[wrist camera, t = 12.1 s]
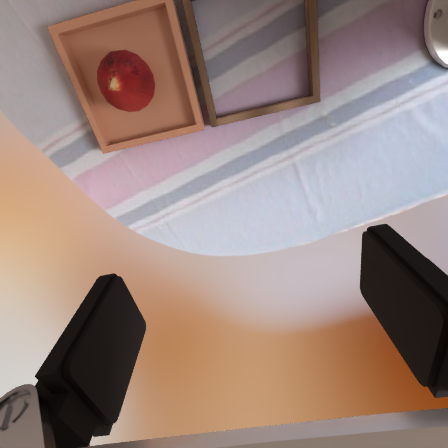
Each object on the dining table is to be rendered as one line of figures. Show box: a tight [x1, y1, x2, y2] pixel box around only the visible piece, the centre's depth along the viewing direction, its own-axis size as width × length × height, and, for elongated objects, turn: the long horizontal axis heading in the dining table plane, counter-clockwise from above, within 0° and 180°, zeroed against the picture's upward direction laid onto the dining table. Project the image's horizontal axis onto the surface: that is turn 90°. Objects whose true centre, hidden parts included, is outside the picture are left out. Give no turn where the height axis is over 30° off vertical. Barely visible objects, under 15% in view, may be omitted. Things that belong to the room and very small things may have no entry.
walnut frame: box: [182, 0, 320, 127], centre depth 29 cm, size 14×14×2 cm
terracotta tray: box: [47, 0, 205, 154], centre depth 31 cm, size 14×14×2 cm
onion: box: [97, 50, 155, 112], centre depth 27 cm, size 6×6×8 cm
